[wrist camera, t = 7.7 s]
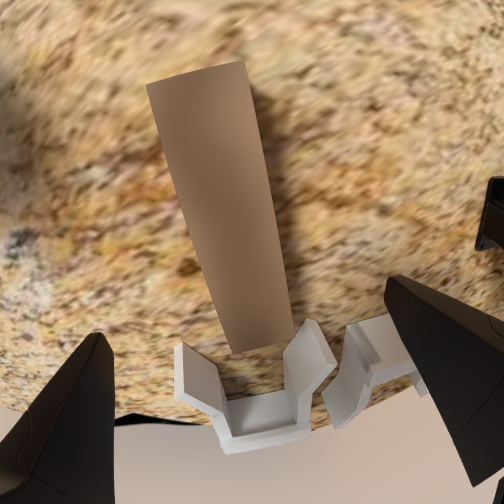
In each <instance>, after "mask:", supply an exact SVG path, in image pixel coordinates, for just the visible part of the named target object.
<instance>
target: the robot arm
mask: <svg viewBox="0 0 504 504" xmlns="http://www.w3.org/2000/svg"><path fill="white" fill-rule="evenodd" d="M496 246H498V247H500V248H501V249H502V250H503V251H504V176H496V177H492V178H491V179H490V181H489V186H488V192H487V198H486V203H485V208H484V213H483V217H482V222H481V226H480V230H479V234H478V238H477V242H476V249H477V250H479V251H483V250H486V249H490V248H493V247H496ZM384 302H385V305H386V307H387V309H388V312H389V314H390V316H391V318H392V321H393V323H394V325H395V327H396V330H397V332H398V334H399V336H400V338H401V341H402V342H403V344H404V346H405V348H406V350H407V351H408V353H409V355H410V357H411V359H412V361H413V362H414V364H415V366H416V368H417V370H418V372H419V373H420V375H421V377H422V379H423V381H424V383H425V385H426V387H427V388H428V391H429V393H430V395H431V397H432V399H433V400H434V402H435V404H436V407H437V408H438V411H439V413H440V415H441V417H442V419H443V421H444V423H445V425H446V427H447V429H448V431H449V434H450V436H451V438H452V439H453V443H454V445H455V447H456V449H457V451H458V454H459V456H460V458H461V460H462V463H463V465H464V468H465V470H466V473H467V475H468V477H469V480H470V482H471V485H472V486H473V487H475V486H477V485H479V484H480V483H482V482H483V481H485V480H486V479H488V478H489V477H491V476H492V475H493V474H495V473H496V472H498V471H499V470H501V469H502V468H503V467H504V321H501V320H499V319H497V318H495V317H493V316H491V315H489V314H487V315H486V313H484V312H482V311H480V310H478V309H476V308H474V307H472V306H469V305H467V304H465V303H463V302H461V301H459V300H456V299H454V298H452V297H450V296H448V295H445V294H443V293H441V292H439V291H437V290H434V289H432V288H430V287H428V286H425V285H423V284H421V283H419V282H416V281H414V280H412V279H410V278H407V277H405V276H403V275H400V274H397V275H393V276H390V277H388V279H387V283H386V288H385V293H384ZM114 418H115V380H114V354H113V351H112V349H111V347H110V345H109V343H108V341H107V340H106V338H105V336H104V334H103V333H101V332H95V333H90V334H89V335H88V336H87V337H86V338H85V339H84V340H83V341H82V342H81V344H80V345H79V346H78V347H77V348H76V349H75V351H74V352H73V353H72V354H71V355H70V357H69V358H68V359H67V360H66V361H65V363H64V364H63V365H62V366H61V367H60V369H59V370H58V371H57V372H56V373H55V375H54V376H53V377H52V378H51V380H50V381H49V382H48V383H47V385H46V386H45V387H44V388H43V390H42V391H41V392H40V393H39V395H38V396H37V397H36V398H35V400H34V401H33V402H32V403H31V405H30V406H29V407H28V410H26V411H25V413H24V414H23V415H22V416H21V418H20V419H19V421H18V422H17V423H16V424H15V425H14V427H13V428H12V429H11V431H10V432H9V433H8V434H7V435H6V437H5V438H4V439H3V440H2V441H1V442H0V504H115V495H114ZM493 504H504V476H503V477H502V478H501V479H500V480H499V482H498V486H497V490H496V494H495V498H494V501H493Z"/></svg>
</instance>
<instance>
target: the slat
mask: <svg viewBox="0 0 504 504" xmlns="http://www.w3.org/2000/svg"><path fill="white" fill-rule="evenodd" d="M146 88H147V92H148V96H149V100H150V103H151V107H152V111H153V115H154V118H155V122H156V125H157V129H158V133H159V136H160V140H161V143H162V147H163V150H164V153H165V157H166V160H167V164H168V167H169V170H170V174H171V177H172V180H173V184H174V187H175V190H176V193H177V196H178V200H179V203H180V206H181V209H182V212H183V215H184V218H185V221H186V225H187V228H188V231H189V234H190V237H191V240H192V243H193V246H194V249H195V251H196V254H197V257H198V260H199V263H200V266H201V269H202V272H203V275H204V277H205V280H206V283H207V286H208V289H209V292H210V294H211V297H212V300H213V303H214V305H215V308H216V311H217V313H218V316H219V319H220V322H221V324H222V327H223V330H224V332H225V335H226V337H227V340H228V343H229V345H230V348H231V350H232V353H233V355H234V354H238V353H242V352H246V351H249V350H253V349H257V348H261V347H264V346H268V345H271V344H275V343H278V342H282V341H285V340H289V339H292V338H295V332H294V325H293V319H292V312H291V306H290V300H289V294H288V287H287V281H286V275H285V269H284V263H283V258H282V252H281V246H280V240H279V234H278V229H277V223H276V218H275V212H274V207H273V201H272V196H271V190H270V185H269V180H268V174H267V169H266V164H265V159H264V154H263V149H262V144H261V139H260V134H259V129H258V124H257V119H256V114H255V109H254V104H253V99H252V95H251V90H250V85H249V81H248V76H247V71H246V67H245V62H244V60H243V61H238V62H232V63H227V64H222V65H218V66H213V67H209V68H205V69H200V70H196V71H192V72H188V73H185V74H181V75H177V76H174V77H170V78H167V79H163V80H160V81H157V82H154V83H150V84H147V85H146Z"/></svg>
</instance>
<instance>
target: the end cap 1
mask: <svg viewBox="0 0 504 504" xmlns="http://www.w3.org/2000/svg"><path fill="white" fill-rule="evenodd" d="M337 365H338V364H337V362H336V360H335V358H334V356H333V353H332V351H331V349H330V347H329V345H328V343H327V341H326V339H325V337H324V335H323V333H322V331H321V329H320V327H319V325H318V323H317V321H316V320H313V319H309V318H306V320H305V321H304V323H303V324H302V326H301V327H300V329H299V330H298V332H297V333H296V335H295V338H293V339H292V340H291V342H290V343H289V345H288V346H287V348H286V349H285V350H284V352H283V371H284V390H279V391H275V392H270V393H266V394H261V395H256V396H251V397H246V398H240V399H235V400H229V401H227V398H226V395H225V392H224V389H223V386H222V382H221V379H220V376H219V372H218V369H217V366H216V365H215V364H213V363H212V362H210V361H209V360H207V359H206V358H204V357H203V356H201V355H200V354H199V353H197V352H196V351H194V350H193V349H192V348H190V347H189V346H187V345H186V344H185V343H183V342H181V343H180V344H178V345H177V346H175V347H174V387H175V398H177V399H179V400H181V401H183V402H185V403H186V404H188V405H190V406H192V407H194V408H196V409H198V410H200V411H202V412H204V413H206V414H208V415H209V418H210V420H211V422H212V424H213V426H214V428H215V431H216V433H217V435H218V437H219V439H220V445H221V447H222V450H223V452H224V454H225V455H227V454H233V453H240V452H245V451H251V450H256V449H261V448H266V447H271V446H276V445H280V444H284V443H289V442H293V441H297V440H301V439H304V438H308V437H310V436H311V429H312V426H311V423H310V413H311V404H312V393H313V392H314V391H315V390H316V389H317V388H318V387H319V385H320V384H321V383H322V382H323V381H324V380H325V379H326V378H327V376H328V375H329V374H330V373H331V372H332V371H333V369H334V368H335V367H336V366H337Z"/></svg>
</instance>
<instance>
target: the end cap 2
mask: <svg viewBox="0 0 504 504" xmlns="http://www.w3.org/2000/svg"><path fill="white" fill-rule="evenodd" d="M406 374H407V376H408V377H409V379H410V380H411V382H412V384H413V385H414V387H415V389H416V390H417V392H418V393H419V395H420V397H423V396H424V395H426V394H427V393H428V392H427V390H426V387H425V385H424V381H423V379H422V377H421V375H420V373H419V372H418V370H417V368H416V366H415V364H414V362H413V361H412V359H411V357H410V355H409V353H408V351H407V350H406V348H405V346H404V344H403V342H402V341H401V338H400V336H399V334H398V332H397V330H396V327H395V325H394V323H393V321H392V318H391V316H390V314H389V313H387V314H384V315H381V316H377V317H374V318H370V319H367V320H363V321H360V322H356V323H353V324H349V325H346V331H345V337H344V344H343V350H342V356H341V362H340V367H339V374H338V375H337V376H336V377H335V378H334V379H333V380H332V381H331V383H330V384H329V385H328V386H327V387H326V388H325V389H324V390H323V391H322V392H321V396H322V398H323V401H324V403H325V406H326V408H327V411H328V413H329V416H330V418H331V421H332V423H333V426H334V428H335V429H342V428H343V427H344V426H345V425H346V424H348V423H349V422H350V421H351V420H352V419H353V418H354V417H355V416H357V415H358V414H359V413H360V412H361V411H362V410H363V409H364V408H365V407H366V406H367V404H368V402H369V399H370V396H371V394H372V391H373V388H374V387H375V386H378V385H380V384H383V383H386V382H388V381H391V380H394V379H396V378H399V377H401V376H404V375H406Z"/></svg>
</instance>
